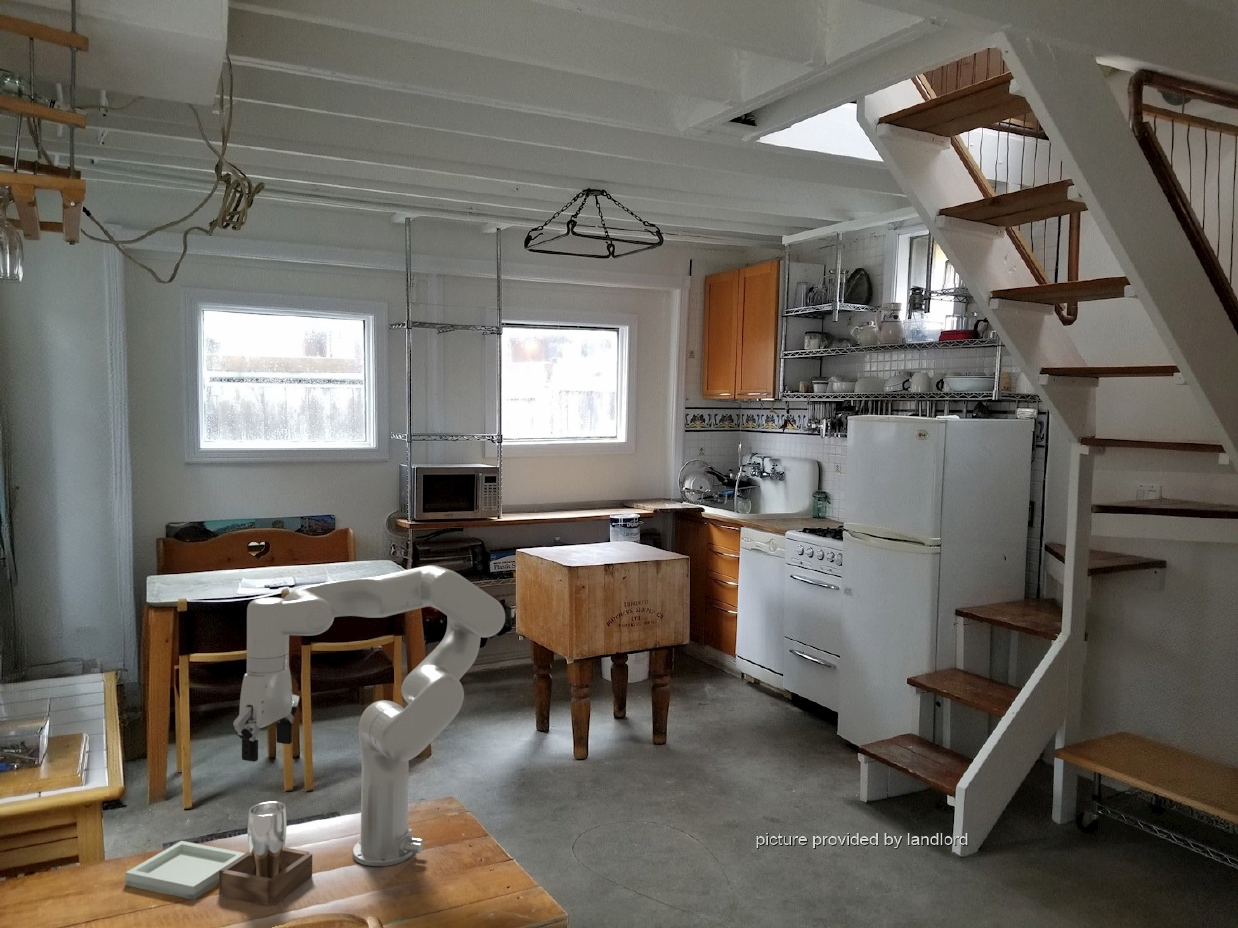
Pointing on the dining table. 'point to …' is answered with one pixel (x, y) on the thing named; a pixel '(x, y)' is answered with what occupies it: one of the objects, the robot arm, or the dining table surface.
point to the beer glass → (267, 838)
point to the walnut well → (264, 890)
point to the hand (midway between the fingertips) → (267, 751)
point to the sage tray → (182, 870)
